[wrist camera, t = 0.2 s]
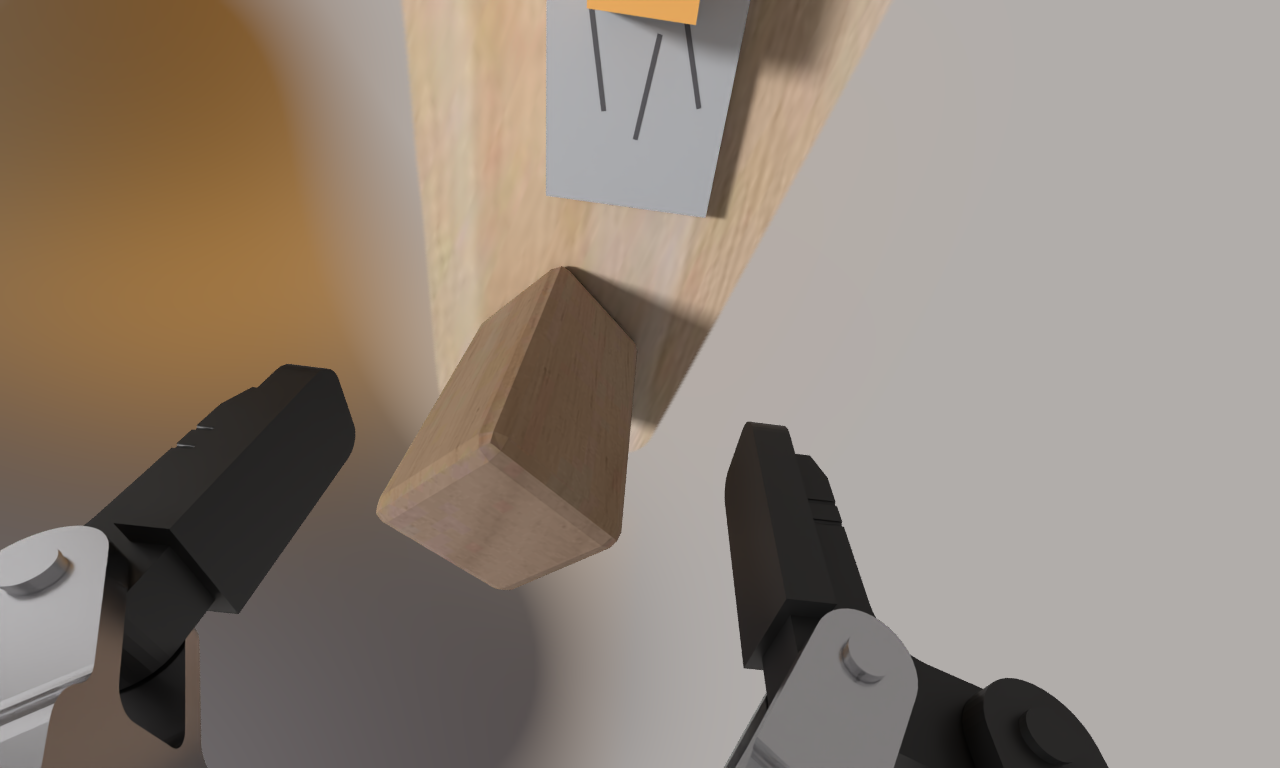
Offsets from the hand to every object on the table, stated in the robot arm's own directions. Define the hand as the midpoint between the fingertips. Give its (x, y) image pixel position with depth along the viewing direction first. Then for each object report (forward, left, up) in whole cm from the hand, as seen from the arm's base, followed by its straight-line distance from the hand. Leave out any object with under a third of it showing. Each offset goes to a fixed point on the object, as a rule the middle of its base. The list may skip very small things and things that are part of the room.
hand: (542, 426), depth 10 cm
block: (+16, -4, -28) cm, 33 cm away
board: (-6, 0, -28) cm, 29 cm away
